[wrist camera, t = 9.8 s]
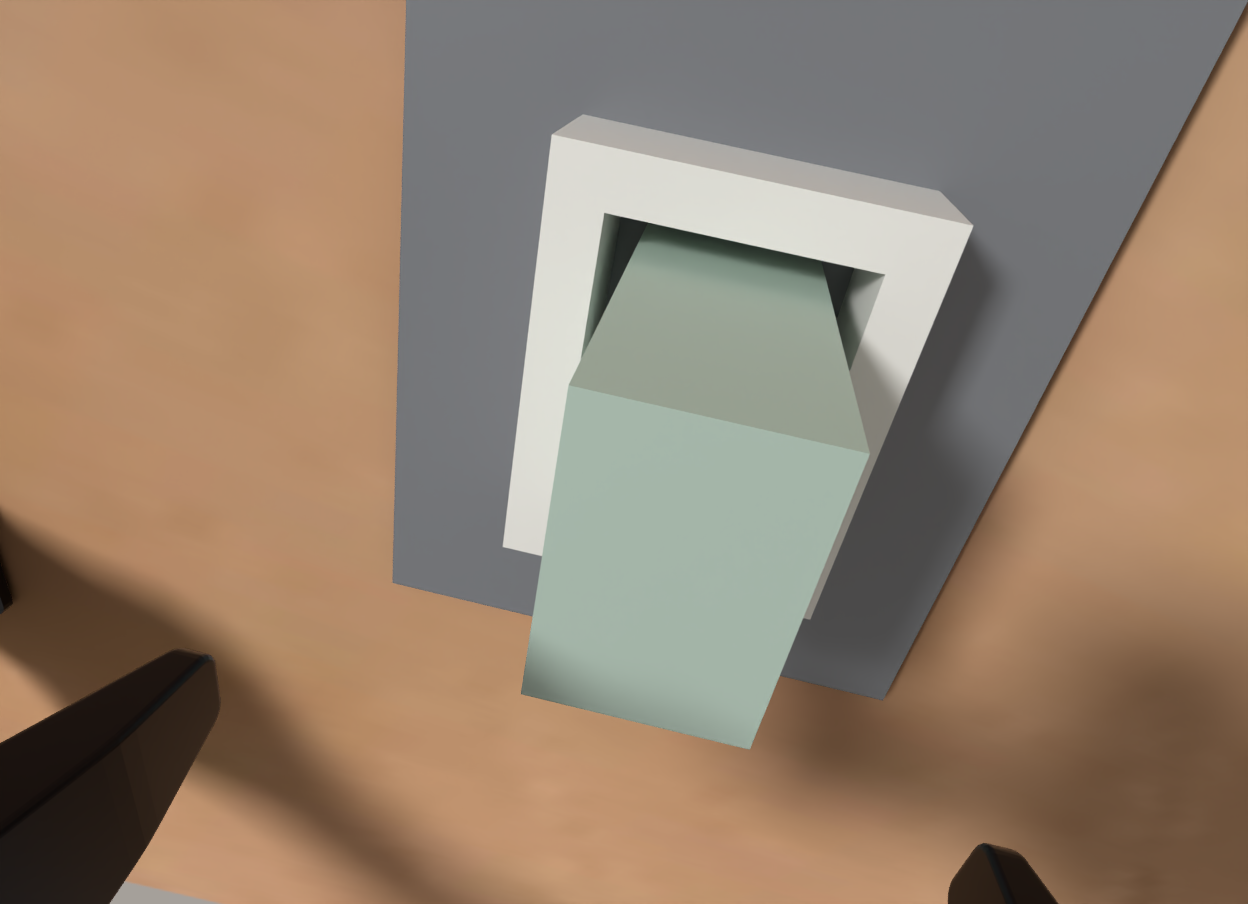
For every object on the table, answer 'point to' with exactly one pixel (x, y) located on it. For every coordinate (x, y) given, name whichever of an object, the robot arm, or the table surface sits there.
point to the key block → (695, 488)
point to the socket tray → (768, 245)
